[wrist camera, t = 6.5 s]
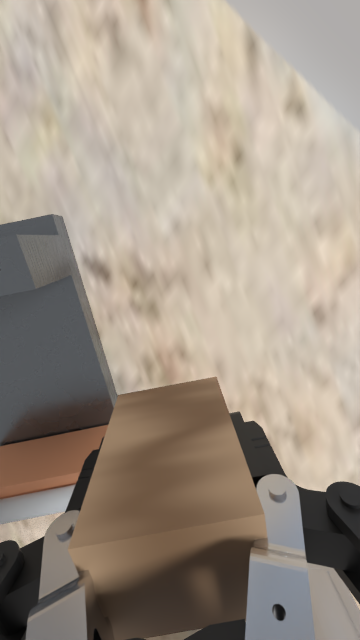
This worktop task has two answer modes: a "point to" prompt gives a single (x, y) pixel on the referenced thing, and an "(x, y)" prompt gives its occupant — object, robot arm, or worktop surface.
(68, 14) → the worktop surface
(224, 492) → the walnut block
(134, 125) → the worktop surface
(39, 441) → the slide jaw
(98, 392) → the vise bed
